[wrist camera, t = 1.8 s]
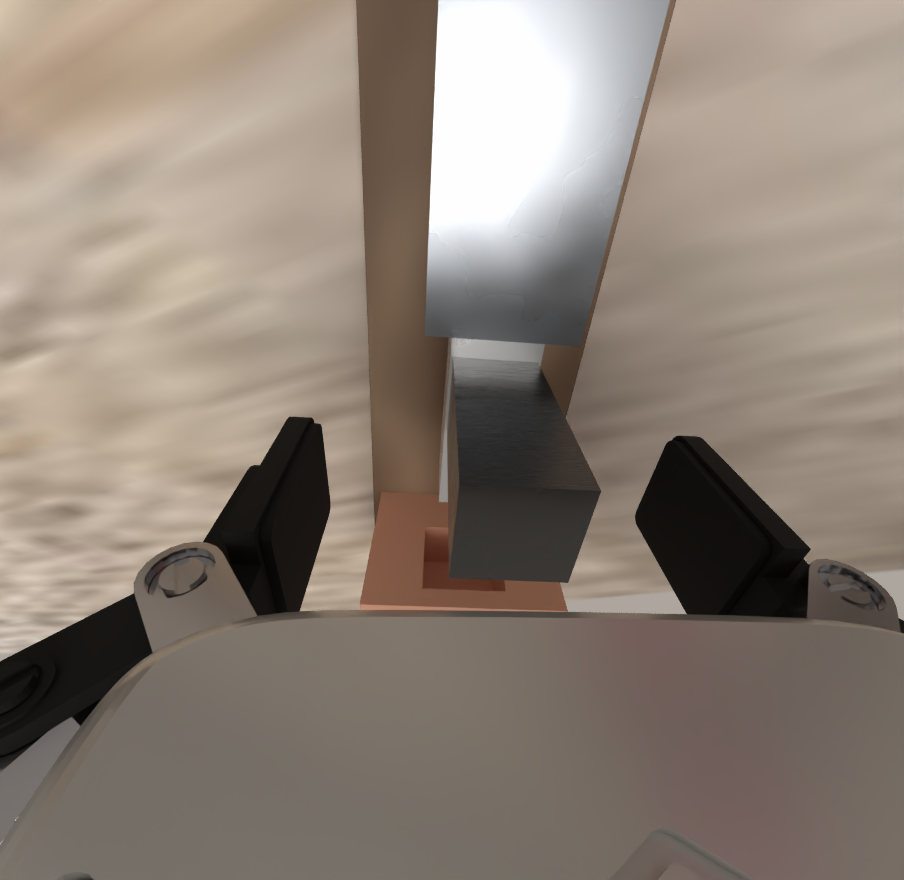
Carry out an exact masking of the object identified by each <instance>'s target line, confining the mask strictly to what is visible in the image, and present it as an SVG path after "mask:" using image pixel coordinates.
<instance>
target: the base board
mask: <svg viewBox="0 0 904 880" xmlns="http://www.w3.org/2000/svg"><path fill="white" fill-rule="evenodd" d="M675 3H676V0H670V2H669V6H668V10H667V14H666V18H665V22H664V25H663V29H662V33H661V37H660V41H659V45H658V49H657V52H656V56H655V60H654V64H653V68H652V72H651V76H650V79H649V83H648V87H647V91H646V95H645V99H644V103H643V106H642V110H641V114H640V118H639V122H638V126H637V130H636V134H635V137H634V141H633V145H632V149H631V153H630V157H629V161H628V164H627V168H626V172H625V176H624V180H623V184H622V188H621V191H620V195H619V199H618V203H617V207H616V211H615V215H614V218H613V222H612V226H611V230H610V234H609V238H608V242H607V246H606V249H605V253H604V257H603V261H602V265H601V269H600V273H599V276H598V280H597V284H596V288H595V292H594V296H593V300H592V303H591V307H590V311H589V315H588V319H587V323H586V327H585V331H584V334H583V338H582V342H581V346H580V347H578V346H564V345H549V344H545V347H544V351H543V356H542V361H541V366H540V367H541V369H542V371H543V373H544V376H545V378H546V380H547V382H548V384H549V386H550V388H551V390H552V392H553V394H554V396H555V398H556V400H557V402H558V404H559V406H560V408H561V410H562V412H563V414H564V416H565V418H566V415H567V411H568V407H569V403H570V400H571V396H572V392H573V388H574V384H575V381H576V377H577V373H578V369H579V366H580V362H581V358H582V354H583V350H584V347H585V343H586V339H587V335H588V331H589V328H590V324H591V320H592V316H593V313H594V309H595V305H596V301H597V297H598V294H599V290H600V286H601V282H602V279H603V275H604V271H605V267H606V263H607V260H608V256H609V252H610V248H611V245H612V241H613V237H614V233H615V229H616V226H617V222H618V218H619V214H620V211H621V207H622V203H623V199H624V195H625V192H626V188H627V184H628V180H629V177H630V173H631V169H632V165H633V161H634V158H635V154H636V150H637V146H638V143H639V139H640V135H641V131H642V127H643V124H644V120H645V116H646V112H647V109H648V105H649V101H650V97H651V93H652V90H653V86H654V82H655V78H656V75H657V71H658V67H659V63H660V59H661V56H662V52H663V48H664V44H665V41H666V37H667V33H668V29H669V25H670V22H671V18H672V14H673V10H674V7H675ZM356 6H357V34H358V62H359V90H360V118H361V147H362V175H363V203H364V231H365V260H366V288H367V316H368V344H369V372H370V401H371V429H372V457H373V485H374V514H375V524H376V518H377V513H378V508H379V503H380V498H381V493H382V492H393V493H414V494H435V495H439V459H440V445H441V432H442V419H443V405H444V392H445V378H446V365H447V352H448V338H449V337H435V336H425V312H426V288H427V264H428V239H429V215H430V191H431V167H432V143H433V119H434V95H435V71H436V47H437V23H438V0H356Z"/></svg>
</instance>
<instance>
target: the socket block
mask: <svg viewBox="0 0 904 880" xmlns="http://www.w3.org/2000/svg"><path fill="white" fill-rule="evenodd" d="M360 610H457V611H534V612H568V611H567V607H566V603H565V600H564V596H563V593H562V589H561V585H560V582H537V581H510V580H483V579H456V578H449V555H448V502H439V495H435V494H414V493H393V492H382V493H381V498H380V503H379V508H378V513H377V518H376V524H375V529H374V534H373V539H372V544H371V549H370V554H369V560H368V565H367V570H366V575H365V580H364V585H363V590H362V596H361V601H360Z"/></svg>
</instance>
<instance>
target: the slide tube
mask: <svg viewBox="0 0 904 880" xmlns="http://www.w3.org/2000/svg"><path fill="white" fill-rule="evenodd" d="M544 347H545V344H535V343H521V342H506V341H492V340H478V339H463V338H448V352H447V365H446V378H445V392H444V405H443V419H442V432H441V445H440V459H439V502H448V555H449V578H456V579H483V580H510V581H537V582H564V583H568V581H569V579H570V576H571V573H572V570H573V568H574V565H575V562H576V559H577V556H578V554H579V551H580V548H581V545H582V543H583V540H584V537H585V534H586V531H587V529H588V526H589V523H590V520H591V518H592V515H593V512H594V509H595V506H596V504H597V501H598V498H599V495H600V493H601V490H600V488H599V486H598V484H597V482H596V480H595V478H594V476H593V474H592V472H591V470H590V467H589V465H588V463H587V461H586V459H585V457H584V455H583V453H582V451H581V449H580V447H579V445H578V443H577V441H576V439H575V437H574V435H573V433H572V431H571V429H570V427H569V425H568V423H567V420H566V418H565V416H564V414H563V412H562V410H561V408H560V406H559V404H558V402H557V400H556V398H555V396H554V394H553V392H552V390H551V388H550V386H549V384H548V382H547V380H546V378H545V376H544V373H543V371H542V369H541V367H540V366H541V361H542V356H543V351H544Z"/></svg>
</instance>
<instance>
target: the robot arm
mask: <svg viewBox="0 0 904 880" xmlns="http://www.w3.org/2000/svg"><path fill="white" fill-rule="evenodd" d="M329 513H330V495H329V486H328V477H327V469H326V460H325V451H324V442H323V434H322V427H321V424H316V423H314V420H313V418H307V417H289V418H288V419H287V420H286V422H285V424H284V426H283V427H282V429H281V431H280V432H279V434H278V436H277V437H276V439H275V441H274V443H273V444H272V446H271V448H270V449H269V451H268V453H267V454H266V456H265V458H264V460H263V461H262V463H261V465H253V466H251V467H250V468H249V469H248V470H247V472H246V474H245V475H244V477H243V478H242V480H241V482H240V483H239V485H238V486H237V488H236V490H235V491H234V493H233V494H232V496H231V498H230V499H229V501H228V503H227V504H226V506H225V507H224V509H223V511H222V512H221V514H220V515H219V517H218V519H217V520H216V522H215V523H214V525H213V527H212V528H211V530H210V532H209V533H208V535H207V536H206V538H205V540H204V541H203V542H191V543H184V544H180V545H177V546H174V547H171V548H169V549H167V550H165V551H163V552H161V553H159V554H157V555H156V556H155V557H154V558H152V559H151V560H150V561H148V562H147V563H146V564H145V565H144V567H143V568H142V569H141V570H140V571H139V572H138V574H137V577H136V579H135V581H134V594H132V595H130V596H128V597H126V598H124V599H122V600H120V601H118V602H116V603H114V604H112V605H110V606H108V607H106V608H104V609H102V610H100V611H98V612H96V613H94V614H92V615H90V616H88V617H86V618H85V619H83V620H81V621H79V622H77V623H75V624H73V625H71V626H69V627H67V628H65V629H63V630H61V631H59V632H57V633H55V634H53V635H51V636H49V637H47V638H45V639H43V640H41V641H39V642H37V643H35V644H33V645H31V646H29V647H27V648H25V649H24V650H22V651H20V652H18V653H16V654H14V655H12V656H10V657H8V658H6V659H4V660H2V661H1V662H0V842H1V841H2V840H3V839H4V840H3V842H2V843H1V845H0V880H904V621H903V620H901V619H899V618H898V613H897V608H896V605H895V603H894V600H893V598H892V597H891V596H890V595H889V593H888V592H887V591H886V590H885V589H884V588H883V587H882V586H881V585H879V584H878V583H877V582H876V581H875V580H873V579H872V578H870V577H869V576H867V575H866V574H864V573H863V572H861V571H859V570H857V569H855V568H853V567H851V566H849V565H846V564H843V563H841V562H838V561H833V560H828V559H818V560H815V561H813V562H811V564H810V565H809V564H808V563H807V562H806V561H805V560H804V559H803V558H804V557H805V556H806V555H807V553H808V552H809V551H810V550H811V549H810V548H809V547H808V546H807V545H806V544H805V543H804V542H803V541H802V540H801V538H800V537H799V536H798V535H797V534H796V533H795V532H794V531H793V530H792V529H791V528H790V527H789V526H788V525H787V524H786V523H785V522H784V521H783V520H782V519H781V518H780V517H779V516H778V515H777V514H776V513H775V512H774V511H773V510H772V509H771V508H770V507H769V506H768V505H767V504H766V503H765V502H764V501H763V500H762V499H761V498H760V497H759V496H758V495H757V494H756V493H755V492H754V491H753V490H752V489H751V488H750V487H749V486H748V484H747V483H746V482H745V481H744V480H743V479H742V478H741V477H740V476H739V475H738V474H737V473H736V472H735V471H734V470H733V469H732V468H731V467H730V466H729V465H728V464H727V463H726V462H725V461H724V460H723V459H722V458H721V457H720V456H719V455H718V454H717V453H716V452H715V451H714V450H713V449H712V448H711V447H710V446H709V445H708V444H707V443H706V442H705V441H704V440H703V439H702V438H701V437H695V436H676V437H675V438H673V440H672V441H669V442H667V444H666V445H665V448H664V450H663V452H662V454H661V457H660V459H659V461H658V463H657V466H656V468H655V470H654V473H653V475H652V477H651V479H650V482H649V484H648V486H647V488H646V491H645V493H644V495H643V497H642V500H641V502H640V504H639V507H638V509H637V511H636V515H635V520H636V524H637V526H638V528H639V530H640V531H641V533H642V535H643V537H644V539H645V540H646V542H647V544H648V546H649V548H650V549H651V551H652V553H653V555H654V556H655V558H656V560H657V562H658V564H659V565H660V567H661V569H662V571H663V572H664V574H665V576H666V578H667V580H668V581H669V583H670V585H671V587H672V588H673V590H674V592H675V594H676V596H677V597H678V599H679V601H680V603H681V605H682V606H683V608H684V610H685V612H686V613H687V614H646V613H645V614H644V613H593V612H592V613H591V612H589V613H588V612H534V611H457V610H321V611H300V608H301V605H302V601H303V598H304V595H305V592H306V588H307V585H308V582H309V579H310V575H311V572H312V569H313V566H314V562H315V559H316V556H317V553H318V549H319V546H320V543H321V539H322V536H323V533H324V530H325V526H326V523H327V520H328V517H329ZM299 611H300V612H299ZM18 816H19V817H18ZM17 817H18V818H17ZM16 818H17V820H16V821H14V820H15V819H16Z"/></svg>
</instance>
